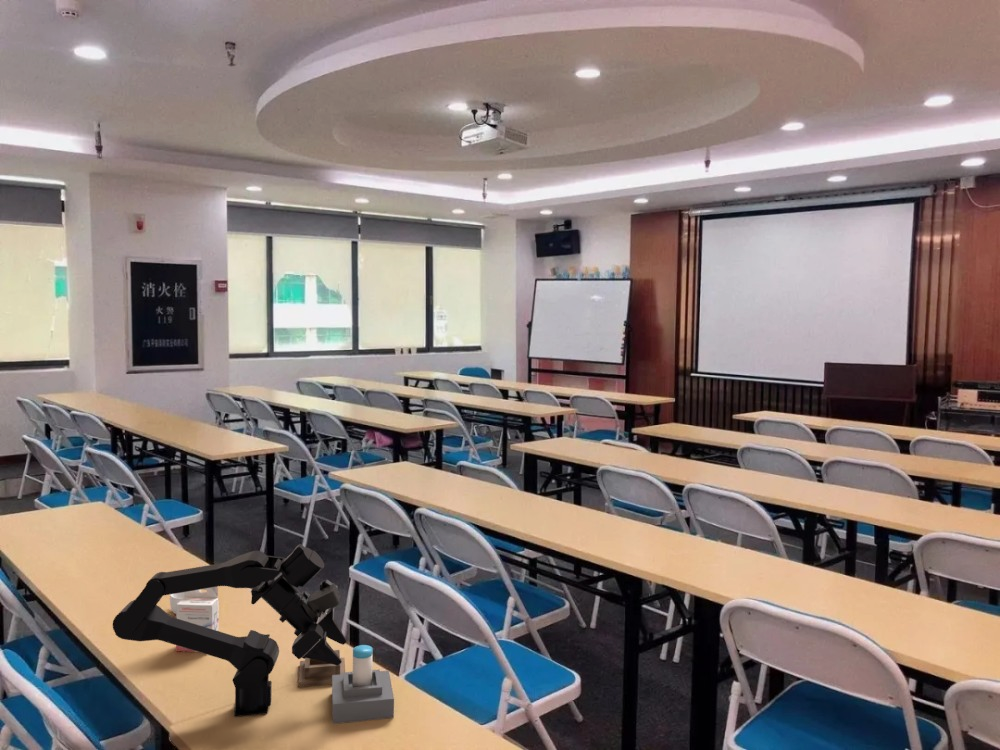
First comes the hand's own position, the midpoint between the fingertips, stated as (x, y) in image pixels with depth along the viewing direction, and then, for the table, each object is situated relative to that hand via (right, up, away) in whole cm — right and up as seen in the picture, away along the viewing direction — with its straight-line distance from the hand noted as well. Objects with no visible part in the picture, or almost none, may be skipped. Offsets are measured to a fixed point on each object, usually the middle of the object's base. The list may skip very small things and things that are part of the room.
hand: (342, 652), depth 153 cm
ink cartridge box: (-40, -8, +25) cm, 48 cm away
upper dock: (+4, -11, +1) cm, 12 cm away
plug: (+4, -7, +1) cm, 8 cm away
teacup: (-52, -6, +45) cm, 69 cm away
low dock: (-8, -10, +14) cm, 19 cm away
